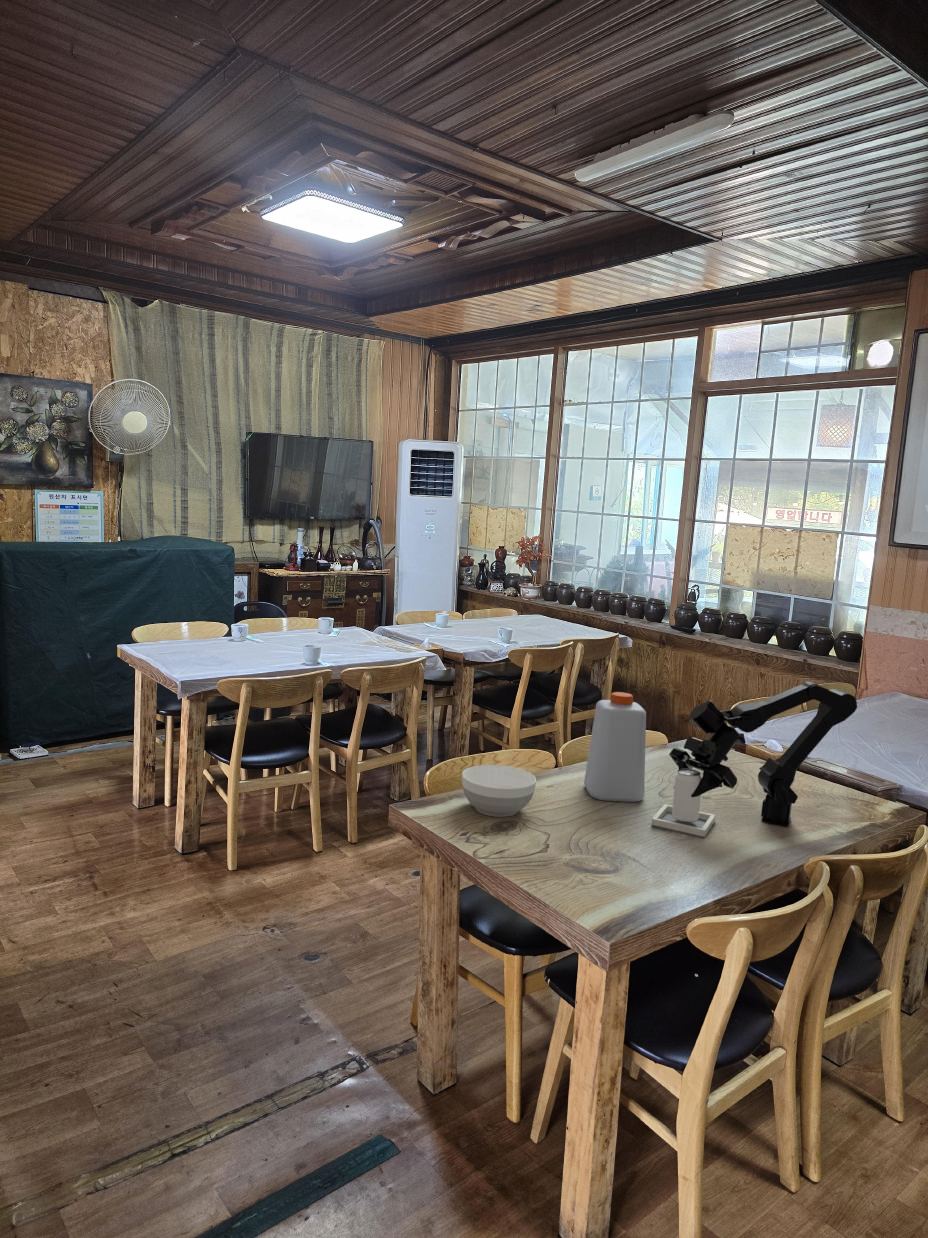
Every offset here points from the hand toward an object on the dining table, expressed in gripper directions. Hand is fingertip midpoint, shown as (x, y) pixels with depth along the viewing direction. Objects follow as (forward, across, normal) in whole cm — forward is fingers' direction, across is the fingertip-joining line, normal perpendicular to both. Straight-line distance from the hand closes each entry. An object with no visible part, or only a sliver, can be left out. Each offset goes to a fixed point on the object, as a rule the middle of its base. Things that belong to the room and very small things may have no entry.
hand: (683, 793), depth 210 cm
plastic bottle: (+6, -25, +6) cm, 26 cm away
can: (+4, 0, +6) cm, 7 cm away
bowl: (+32, -26, -21) cm, 47 cm away
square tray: (+5, 0, +7) cm, 8 cm away
